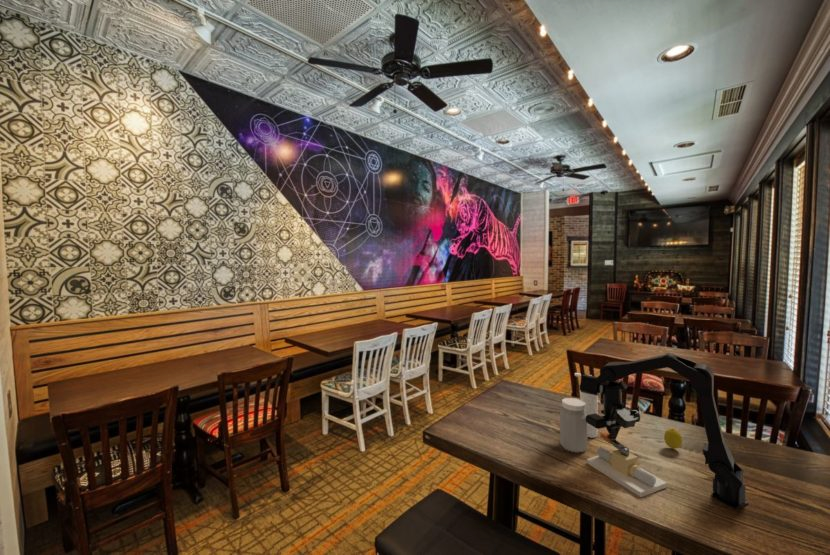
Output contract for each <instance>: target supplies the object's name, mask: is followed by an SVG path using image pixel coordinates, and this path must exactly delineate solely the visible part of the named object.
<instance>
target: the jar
mask: <svg viewBox="0 0 830 555" xmlns="http://www.w3.org/2000/svg"><path fill="white" fill-rule="evenodd" d="M586 416H587V414H586V413H585V402H583V401H582V400H581V398H580V399H579V398H575V397H565V398H562V400H561V410H560V411H559V443H560V445H561V447H562V448H563V449H564V450H566V451H568V452H570V451H571V452H570V453H574V452H575V454H576V453H577V452H578V453H579V452H581V453H584V452H585V451H586V450H587V449H588V437H587V422H586ZM578 453H577V454H578ZM579 454H580V453H579Z"/></svg>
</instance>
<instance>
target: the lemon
mask: <svg viewBox="0 0 830 555" xmlns="http://www.w3.org/2000/svg"><path fill="white" fill-rule="evenodd" d="M663 440H664V442H665V445H666V446H668V447H669V448H671V450H675V449H678V448H681V447H682V444H683V437H682V434H681V433H680V432H679V431H678V430H677V429H675V428H673V427H672V428H668V429H666V431H665V432H664V436H663Z"/></svg>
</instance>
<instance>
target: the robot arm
mask: <svg viewBox="0 0 830 555" xmlns="http://www.w3.org/2000/svg"><path fill="white" fill-rule="evenodd" d="M667 368H668V369H670V370H672V371H674V372H675V373H676V374H679V375H680V376H681V377H683V378H685V379H687V380H688V381H689V383H690V385H691V389H692V390H693V391H694V392H695V395H696V397H697V400H698V405H699V408H700V411H701V417H702V420H703V421H702V423H703V426H704V430H705V434H706V438H707V443H706V442H704V443H703V447H702V454H703V456H704V459H705V462H704V465H707V467H708V469H709V470H710V471H711V473H714V477H713V478H712V491H713V492H711V494H710V495H711V497H712V498H714V499H717V500H718V501H720V502H722V503H724V504H726V505H728V506H729V507H732V508H734V509H739V508H741V507H744V506H745V505H748V504H749V500H747V499H746V487H747V486H746V482H744V469H743V468H741V467H740V466H739V464H738V463H737V462H736V461H735V458H734V456H733V454H732V451H731V450H730V448H729V446H728V444H727V443H726V440H725V437H724V435H723V429H722V426H721V420H720V416H719V413H718V408H717V405H716V400H715V396H714V391H715V390H714V389H715V388H714V387H715V386H714V385H715V384H714V382H715V381H714V377H715V374H714V370H713V369H712V367H710V366H709V365H708V364H705V363H697V362H695V361H692V360H690V359H687V358H684V357H681V356H679V355H677V354H675V353H671V352H667V353H665V354H661V355H656V356H652V357H646V358H643V359H637V360H632V361H610V362H608V363H607V364H605V365H603V367H601V369H600V374H599V375H598V376H593V375H592V376H589V375H590V374H585V373H584V374H581V379H580V384H579V391H580V393H581V392H582V393H587V394H591V395H596V396H598V397H599V395H600V394H602V395H603V396H602V397H603V398H601V399H600V403H603V404H602V405H603V409H601V410H600V413H601V414H603V415H600V414H599V413H598V414H596V413H594V414H589V415H587V416H586V422H587V423H588V424H590V425H592V426H593V427H595V428H597V430H600V429H605V428H606V430H607V431H606V432H607V433H608V434H609V435H611V436H612V437H614V438H615V440H616V439H617V437H618V434H619V432H620V430H621V428H624V429H628V428H634V427H635V426H636V423H639V422H641V414H640V412H639V411H638V410H637V409H632V408H630V407H626V404H625V402H623V401H622V390H624V391H625V390H626V389H627V388H628V387H629V385H628V384H626V383H625V382H624V381H623V380H622V379H624V378H626V377H628V376H630V375H634V374H635V375H636V374H639V373H646V372H651V371H657V370H661V369H667ZM619 380H620V381H619ZM616 441H617V440H616Z"/></svg>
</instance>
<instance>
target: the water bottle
mask: <svg viewBox="0 0 830 555" xmlns="http://www.w3.org/2000/svg"><path fill="white" fill-rule="evenodd" d="M588 375H589V376H593V375H592V374H588ZM574 376H575V377H578V378H580V377H581V378H582V374H581V373H580V372H574ZM580 400H582V401H583V402H585V413H586V414H587V415H589V414H594V413H596V414H598V415H599V412H598V411H599V406H598V405H599V404H598V403H599V402H598V401H599V395H598V396H596V395H591V394H587V393H582V392H581V391H580ZM598 430H599V429H597V428H595V427H593V426H592V425H590V424H588V423H587V438H589V437H590V439H591V438H594V439H595V438H597V437H598V435H599V431H598Z"/></svg>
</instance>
